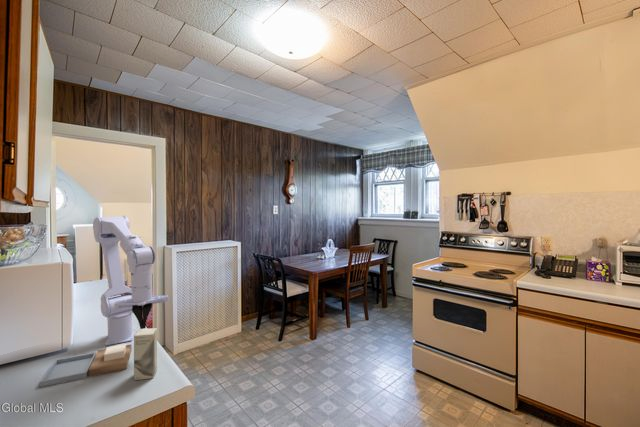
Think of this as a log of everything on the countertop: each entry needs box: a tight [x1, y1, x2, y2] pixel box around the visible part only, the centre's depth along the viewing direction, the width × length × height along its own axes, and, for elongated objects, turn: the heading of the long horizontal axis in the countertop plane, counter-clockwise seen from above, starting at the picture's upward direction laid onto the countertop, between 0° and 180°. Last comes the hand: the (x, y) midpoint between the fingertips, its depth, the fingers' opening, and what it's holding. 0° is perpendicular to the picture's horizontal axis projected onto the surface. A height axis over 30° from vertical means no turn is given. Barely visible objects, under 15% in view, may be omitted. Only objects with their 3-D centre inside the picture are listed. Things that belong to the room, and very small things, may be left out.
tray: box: [39, 352, 97, 388], centre depth 87 cm, size 12×10×2 cm
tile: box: [104, 343, 127, 361], centre depth 92 cm, size 5×5×2 cm
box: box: [133, 327, 158, 381], centre depth 85 cm, size 5×4×13 cm
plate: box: [88, 344, 132, 378], centre depth 92 cm, size 12×9×2 cm
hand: (143, 327), depth 95 cm, fingers closed
